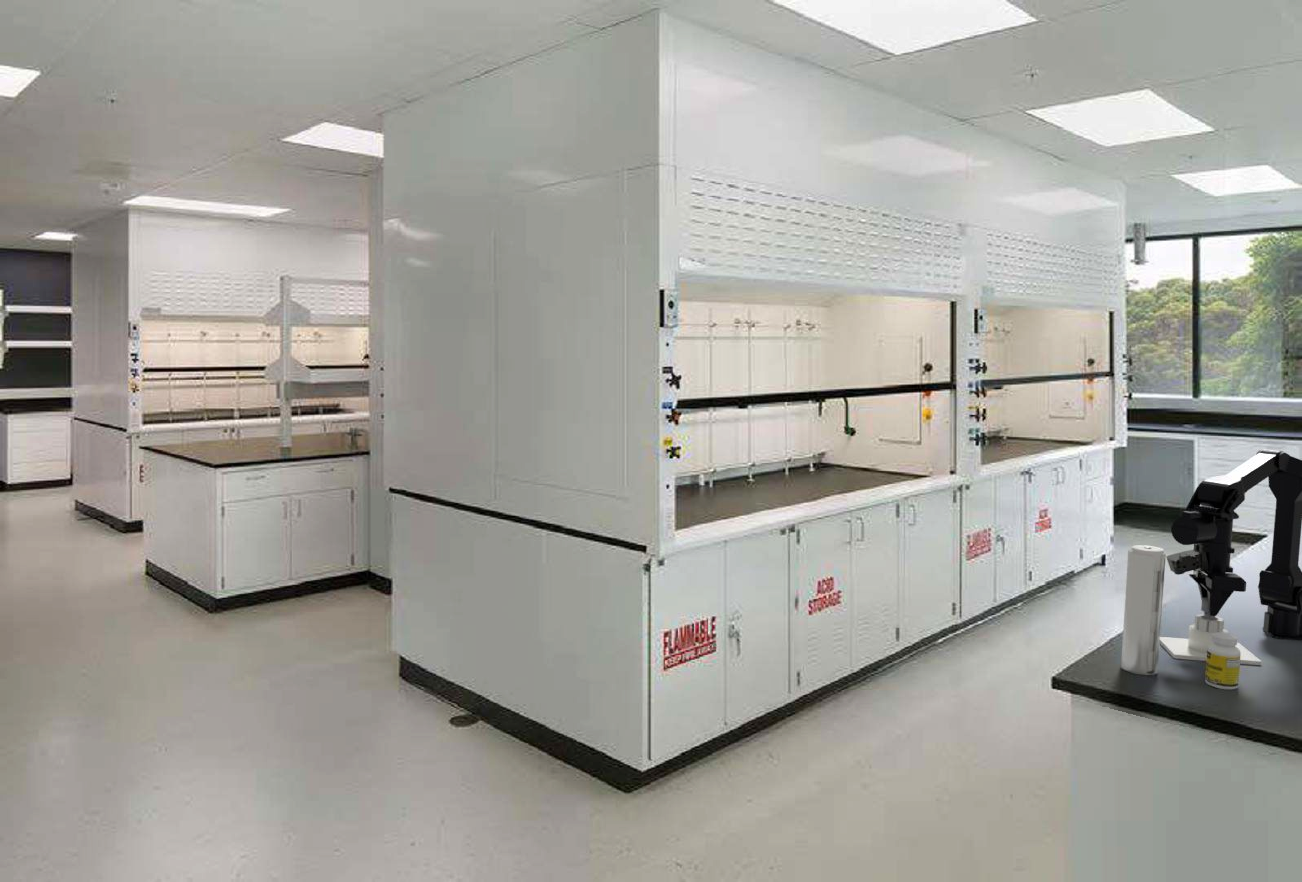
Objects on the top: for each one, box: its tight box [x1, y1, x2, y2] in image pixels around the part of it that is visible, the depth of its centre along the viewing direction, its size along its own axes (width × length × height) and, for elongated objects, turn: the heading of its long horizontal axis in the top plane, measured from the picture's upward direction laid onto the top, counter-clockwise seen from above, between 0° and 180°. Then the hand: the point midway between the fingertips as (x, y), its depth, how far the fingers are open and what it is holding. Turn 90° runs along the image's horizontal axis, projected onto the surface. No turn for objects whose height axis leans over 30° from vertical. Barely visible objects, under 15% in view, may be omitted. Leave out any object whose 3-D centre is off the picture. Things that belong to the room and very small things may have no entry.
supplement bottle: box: [1204, 632, 1241, 691], centre depth 170 cm, size 5×5×10 cm
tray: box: [1160, 636, 1263, 666], centre depth 189 cm, size 16×12×1 cm
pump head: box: [1200, 597, 1220, 620], centre depth 188 cm, size 3×3×6 cm
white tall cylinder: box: [1120, 544, 1167, 676], centre depth 178 cm, size 6×6×25 cm
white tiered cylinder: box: [1187, 613, 1229, 653], centre depth 189 cm, size 7×7×7 cm
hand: (1209, 613), depth 188 cm, fingers closed on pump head, 3 cm apart
